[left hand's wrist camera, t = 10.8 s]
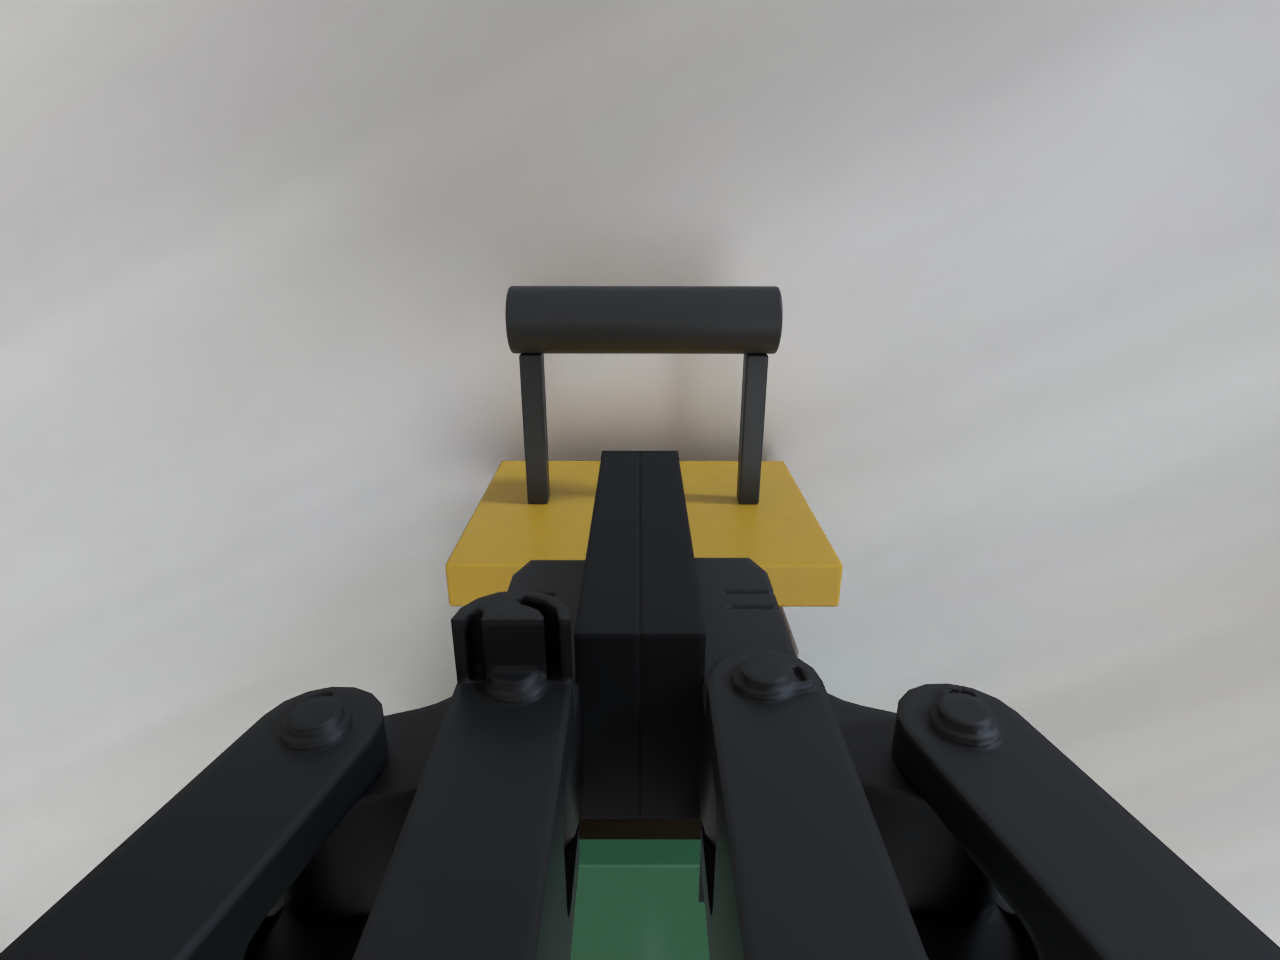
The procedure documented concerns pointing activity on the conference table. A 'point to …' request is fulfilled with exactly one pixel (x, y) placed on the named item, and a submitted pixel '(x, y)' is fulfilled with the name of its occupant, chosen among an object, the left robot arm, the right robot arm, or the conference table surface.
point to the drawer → (714, 490)
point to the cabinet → (639, 901)
